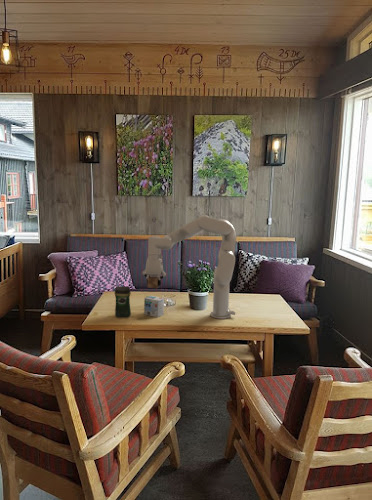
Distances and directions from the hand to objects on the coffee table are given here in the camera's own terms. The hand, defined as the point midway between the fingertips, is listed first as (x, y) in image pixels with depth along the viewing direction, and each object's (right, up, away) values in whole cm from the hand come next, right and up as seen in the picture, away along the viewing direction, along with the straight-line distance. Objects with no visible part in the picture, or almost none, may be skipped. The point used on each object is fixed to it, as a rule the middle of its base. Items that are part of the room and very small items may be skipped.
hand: (153, 285), depth 250 cm
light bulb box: (0, -19, +3) cm, 19 cm away
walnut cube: (0, -1, 0) cm, 1 cm away
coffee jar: (-19, -19, -1) cm, 27 cm away
